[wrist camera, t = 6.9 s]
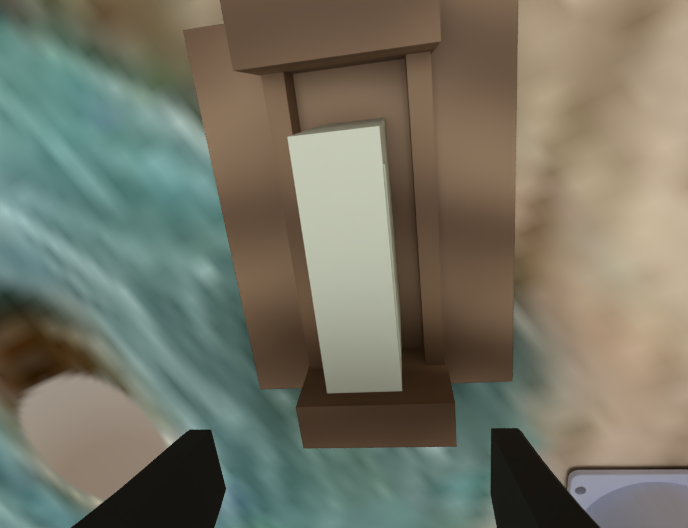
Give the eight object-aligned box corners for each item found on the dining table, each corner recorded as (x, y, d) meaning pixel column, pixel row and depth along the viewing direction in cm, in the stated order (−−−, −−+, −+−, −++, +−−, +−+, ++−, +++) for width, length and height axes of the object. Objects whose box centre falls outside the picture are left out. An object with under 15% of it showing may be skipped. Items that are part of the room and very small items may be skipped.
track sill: (507, 368, 21) (539, 445, 16) (266, 377, 23) (232, 449, 18) (511, -16, 16) (560, -66, 11) (194, 34, 17) (119, 9, 13)
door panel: (401, 306, 19) (403, 391, 14) (345, 310, 20) (325, 393, 14) (386, 117, 17) (381, 125, 11) (321, 124, 17) (285, 137, 11)
